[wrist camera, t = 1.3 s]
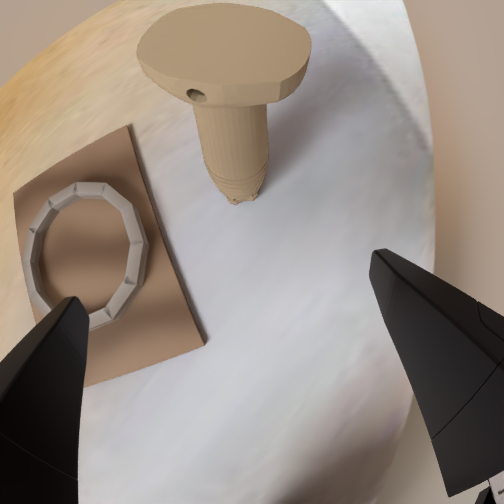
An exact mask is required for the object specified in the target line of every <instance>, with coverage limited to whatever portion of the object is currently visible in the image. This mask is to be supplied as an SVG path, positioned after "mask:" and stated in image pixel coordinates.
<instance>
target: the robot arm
mask: <svg viewBox="0 0 504 504" xmlns="http://www.w3.org/2000/svg"><path fill="white" fill-rule="evenodd" d="M369 278H370V281H371V284H372V287H373V290H374V293H375V296H376V299H377V302H378V305H379V308H380V311H381V314H382V317H383V319H384V322H385V325H386V327H387V329H388V331H389V334H390V336H391V338H392V341H393V343H394V345H395V347H396V350H397V352H398V354H399V357H400V359H401V362H402V364H403V366H404V369H405V371H406V374H407V376H408V379H409V381H410V384H411V386H412V389H413V391H414V394H415V397H416V399H417V402H418V405H419V407H420V410H421V413H422V415H423V418H424V421H425V424H426V426H427V429H428V432H429V435H430V438H431V440H432V441H431V442H432V445H433V448H434V451H435V454H436V457H437V460H438V464H439V467H440V470H441V474H442V477H443V481H444V484H445V488H446V491H447V495H448V497H452V496H454V495H456V494H459V493H461V492H463V491H465V490H467V489H470V488H472V487H474V486H476V485H478V484H480V483H482V482H484V481H486V480H488V482H489V485H490V486H489V487H488V488H486V489H484V490H483V491H481V492H480V493H479V495H478V498H477V500H476V502H475V504H504V317H503V316H502V315H500V314H498V313H496V312H495V311H493V310H492V309H490V308H488V307H487V306H485V305H483V304H482V303H480V302H479V301H478V302H477V301H476V300H475V299H474V298H472V297H471V296H469V295H467V294H466V293H464V292H462V291H460V290H459V289H457V288H456V287H454V286H452V285H450V284H449V283H447V282H445V281H443V280H442V279H440V278H438V277H437V276H435V275H433V274H431V273H430V272H428V271H426V270H424V269H423V268H421V267H419V266H417V265H415V264H414V263H412V262H410V261H408V260H406V259H405V258H403V257H401V256H399V255H397V254H395V253H394V252H392V251H390V250H388V249H378V250H374V251H373V252H372V256H371V263H370V270H369ZM89 324H90V318H89V315H88V313H87V311H86V309H85V308H84V306H83V304H82V303H81V301H80V299H79V298H78V297H77V296H69V297H65V298H64V299H63V300H62V301H61V302H60V303H59V304H58V305H56V306H55V307H54V308H53V309H52V310H51V311H50V312H49V313H48V314H47V315H46V316H45V317H44V318H43V319H42V320H41V321H40V322H39V323H38V324H37V325H36V326H35V327H34V328H33V329H32V330H31V331H30V332H29V333H28V334H27V335H26V336H25V337H24V338H23V339H22V340H21V341H20V342H19V343H18V344H17V345H16V346H15V347H14V348H13V349H12V350H11V351H10V352H9V353H8V355H7V356H6V357H5V358H4V359H3V360H2V361H1V362H0V504H78V480H77V479H78V448H79V430H80V417H81V406H82V396H83V387H84V380H85V372H86V364H87V351H88V336H89Z"/></svg>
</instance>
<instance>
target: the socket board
mask: <svg viewBox="0 0 504 504" xmlns="http://www.w3.org/2000/svg"><path fill="white" fill-rule="evenodd" d="M13 196H14V209H15V219H16V228H17V235H18V242H19V249H20V255H21V261H22V266H23V272H24V277H25V281H26V286H27V291H28V295H29V299H30V303H31V307H32V311H33V315H34V318H35V322H36V325H37V324H38V323H39V322H40V321H41V320H42V319H43V318H44V317H45V316H46V315H47V314H48V313H49V312H50V311H51V310H52V309H53V308H54V307H55V306H56V305H58V304H59V303H60V302H61V301H62V300H63V299H64V298H65V297H69V296H77V297H78V298H79V299H80V301H81V303H82V304H83V306H84V308H85V309H86V311H87V313H88V315H89V318H90V324H89V336H88V351H87V364H86V372H85V380H84V387H88V386H91V385H94V384H97V383H100V382H104V381H107V380H110V379H113V378H116V377H119V376H122V375H125V374H128V373H131V372H134V371H137V370H140V369H142V368H145V367H148V366H151V365H154V364H157V363H159V362H162V361H165V360H168V359H170V358H173V357H176V356H179V355H181V354H184V353H187V352H189V351H192V350H194V349H197V348H200V347H202V346H204V345H205V343H204V341H203V339H202V336H201V334H200V332H199V329H198V327H197V325H196V322H195V320H194V317H193V315H192V312H191V310H190V308H189V305H188V303H187V300H186V298H185V295H184V293H183V290H182V287H181V285H180V282H179V280H178V277H177V275H176V272H175V269H174V267H173V264H172V261H171V259H170V256H169V253H168V250H167V248H166V245H165V242H164V239H163V237H162V234H161V231H160V228H159V225H158V222H157V219H156V216H155V213H154V210H153V207H152V204H151V201H150V198H149V195H148V192H147V189H146V186H145V183H144V180H143V176H142V173H141V170H140V167H139V163H138V160H137V157H136V153H135V150H134V146H133V143H132V139H131V136H130V132H129V128H128V127H127V125H126V126H124V127H122V128H120V129H118V130H116V131H114V132H112V133H110V134H108V135H106V136H104V137H102V138H100V139H99V140H97V141H95V142H93V143H91V144H89V145H88V146H86V147H84V148H82V149H81V150H79V151H77V152H75V153H74V154H72V155H70V156H69V157H67V158H65V159H64V160H62V161H60V162H59V163H57V164H56V165H54V166H52V167H51V168H49V169H48V170H46V171H45V172H43V173H42V174H40V175H39V176H37V177H36V178H34V179H33V180H31V181H30V182H28V183H27V184H25V185H24V186H23V187H21V188H20V189H18V190H17V191H16V192H14V193H13ZM84 387H83V388H84Z"/></svg>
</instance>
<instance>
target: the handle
mask: <svg viewBox="0 0 504 504" xmlns="http://www.w3.org/2000/svg"><path fill="white" fill-rule="evenodd" d="M310 52H311V38H310V35H309V33H308V32H307V30H306V28H305V27H303V26H301V25H299V24H297V23H296V22H294V21H292V20H290V19H288V18H286V17H284V16H282V15H280V14H278V13H276V12H273V11H270V10H267V9H263V8H259V7H253V6H247V5H240V4H231V3H213V4H204V5H197V6H191V7H185V8H180V9H176V10H174V11H172V12H170V13H168V14H166V15H165V16H163V17H161V18H160V19H159V20H157V21H156V22H155V23H154V24H153V25H152V26H151V27H150V28H149V29H148V30H147V31H146V32H145V34H144V35H143V36H142V38H141V40H140V42H139V44H138V47H137V59H138V61H139V63H140V66H141V68H142V70H143V72H144V73H145V75H146V76H147V77H148V78H150V79H151V80H152V81H153V82H154V83H156V84H157V85H158V86H159V87H161V88H162V89H164V90H165V91H167V92H168V93H170V94H172V95H173V96H175V97H177V98H179V99H181V100H183V101H185V102H187V103H189V104H192V105H193V109H194V114H195V118H196V123H197V127H198V132H199V137H200V143H201V148H202V153H203V158H204V161H205V164H206V167H207V170H208V172H209V175H210V176H211V179H212V180H213V182H214V184H215V185H216V187H217V188H218V189H219V190H220V192H221V193H223V194H224V195H225V196H226V197H227V200H228V201H229V202H230V203H232V204H235V205H237V204H238V203H240V202H243V201H253V200H255V199H256V197H257V195H258V190H259V188H260V187H261V185H262V183H263V181H264V178H265V175H266V171H267V166H268V156H269V146H268V131H267V108H266V104H268V103H274V102H279V101H280V100H282V99H284V98H286V97H287V96H289V95H290V94H291V93H293V92H294V91H295V89H296V88H297V87H298V86H299V85H300V83H301V81H302V79H303V77H304V76H305V73H306V70H307V66H308V62H309V57H310Z"/></svg>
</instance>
